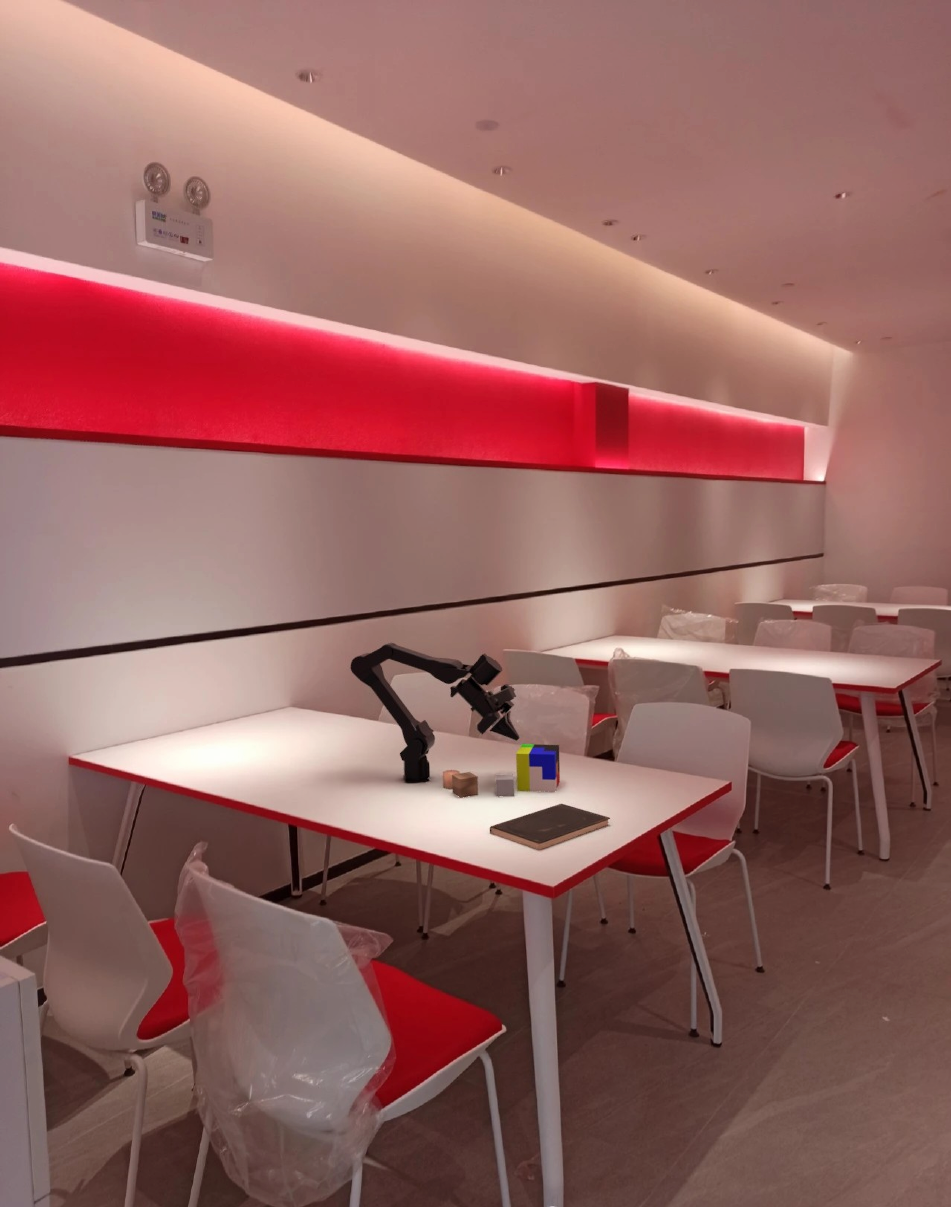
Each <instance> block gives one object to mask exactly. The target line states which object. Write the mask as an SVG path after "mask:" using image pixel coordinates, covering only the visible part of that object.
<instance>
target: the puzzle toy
mask: <svg viewBox="0 0 951 1207" xmlns="http://www.w3.org/2000/svg"><path fill="white" fill-rule="evenodd" d="M515 754H516V755H515V756H516V757H515V758H516V791H517V792H535V791H538V792H537V793H541V792H543V793H556V792H557V789H558V787H559V785H560V784H559V783H560V782H561V780H560V779H561V778H560V772H561V771H560V745H559V744H534V743H533V744H530V743H529V744H528V743H526V744H525V743H522V744H521V745H520V746H519V748H518V750H517V751H516V753H515ZM539 791H541V792H539ZM544 791H545V792H544ZM548 791H549V792H548ZM555 791H556V792H555Z"/></svg>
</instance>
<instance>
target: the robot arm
mask: <svg viewBox="0 0 951 1207" xmlns="http://www.w3.org/2000/svg"><path fill="white" fill-rule="evenodd" d="M388 660H391V661H394V662H397V663H400V664H403V665H405V666H409V667H412V668H414V669H418V670H421V671H424V672H425V673H426V672H427V673H428V674H430V675H431V676H432V677H433V678H435V679H437V680H438V681H440V682H442V683H444V684H447V685H451V684H454V683H456V682H457V681H459V680H460V681H459V682H458V683H457V684H456V685H452V686H450V687H449V689H450V698H454V697H455V696H456V695H458V694H459V696H460V697H461V698H462V699H463V700H464V701H465V702H466V703H467V704H468V705H469V706H470V711H471V712H474V711H475V712H476V713H477V714H478V715H479V716H480V717H481V718H482V719H481V720H480V721H479V722H478V723H477V725H476V727H477V728H476V729H477V730H476V731H478V732H479V733H480V734H481V735H484V734H485V733H486V732H487V731H488V730H489V729H490V730H489V732H493V733H496V734H498V735H501V736H503V737H506V738H509V739H512V740H514V741H518V740H519V739H520V735H519V734H518V732H517V729H516V728H515V727H514V726H515V725H513V722H512V721H511V712H512V711H511V709H512V708H513V707H514V706H515V704H514V702H513V701H512V700H514V699H515V698H517V695H516V693H515V691H516V689H515V688H514V687H513V686H512V685H509V684H507V683H505V684H503V685H501V686H500V690H499V691H498V692H495V693H493V692H492V691H491V690H488V691H486V690H485V688H484V687H483V686H484V685H485V686H489V685H490V684H492V682H493V681H494V680H495V679H496V678H497V677H498V676H499V675H500V674H501V673H502V672H503V667H502V665H501V664H500V663H499V661H497V660H496V659H494V658H493V657H491V656H489V655H487V654H486V653H485V652H484V653H482V654H481V655H480V656H479V657H478V659H477V661H475V662H474V663H473V665H471V664H465V663H463V662H462V661H461V660H459V659H457V658H456V659H454V658H448V657H436V656H431V655H429V654H425V653H422V652H420V651H416V650H412V649H410V648H407V647H404V646H401V645H397V644H396V643H394V642H388V643H386V644H385V643H384V644H383V645H382V646H381V647H379V648H378V649H376V650H374V651H372V652H366V653H363V654H360V655H357V656H355V657H354V658H353V659H351V663H350V666H349V667H350V668H349V669H350V671H351V672H352V674H353V675H354V676H355V677H356V678H357V679H358V680H359V681H360V682H362V683H363V684H365V685H366V686H368V687H369V688H370V689H371V690H372V691H373V692H374V694H375V696H376V697H377V698H378V699H379V701H380V702H381V703H382V705H383V706H384V707H385V709H386V710H387V712H388V713H389V714H390V716H391V717H392V718H393V720H394V721H395V722H396V723H397V725H398V727H399V728H400V730H401V732H402V734H401V735H402V737H403V740H404V742H405V744H406V747H405V748H403V749H402V750H401V751H400V752H399V756H400V758H401V761H403V775H402V777H403V780H404V783H419V782H429V781H430V777H431V770H430V768H431V767H430V761H429V760H428V757H427V755H429V752H430V749H431V748H432V747H434V745H435V741H436V737H435V734H434V732H435V731H434V730H433V729H432V728H431V727H430V726H429V724H428V722H427V721H426V720H425V719H423V720H422V721H419V720H417V718H415V717H414V716H413V714H412V713H411V711H410V710H409V709H408V707H407V706H406V705H405V704H404V703H405V702H403V700H402V699H401V698H400V696H398V693H396V691H395V689H394V688H393V687H392V686H391V685H390V683H389V682H388V680H387V679H386V678H385V675H384V669H383V666H382V665H381V664H382V663H384V662H386V661H388ZM469 675H470V676H469ZM467 676H469V677H467ZM465 677H467V679H464V678H465Z"/></svg>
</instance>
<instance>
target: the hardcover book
mask: <svg viewBox="0 0 951 1207" xmlns="http://www.w3.org/2000/svg"><path fill="white" fill-rule="evenodd" d="M609 820H611V817H609V816H605V815H603V814H599V813H595V812H592V811H589V810H584V809H581V808H579V807H575V806H572V805H567V804H564V803H559V804H556V805H553V806H549V807H546V808H543V809H540V810H537V811H533V812H531V813H528V814H524V815H520V816H518V817H516V818H512V819H509V820H506V821H504V822H503V821H502V822H500V823H497V824H493V825H490V827H489V833H490V834H493V835H496V836H499V837H501V838H505V839H507V840H510V841H513V842H516V843H519V844H521V845H524V846H527V847H529V848H532V849H533V848H534V849H536V850H542V849H544V848H545V849H546V848H547V847H548V848H549V847H551V846H554V845H556V844H558V843H559V844H560V843H562V842H565V841H567V840H570V839H573V838H575V837H578V835H579V836H581V835H584V834H587V833H589V832H588V831H590V832H592V831H595V830H597V829H596V828H598V829H601V828H604V827H606V826H608V825H609V823H610V822H609ZM605 825H606V826H605ZM603 826H604V827H603ZM594 829H595V830H594ZM586 832H587V833H586ZM580 834H581V835H580ZM564 840H565V841H564Z"/></svg>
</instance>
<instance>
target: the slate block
mask: <svg viewBox="0 0 951 1207" xmlns="http://www.w3.org/2000/svg"><path fill="white" fill-rule="evenodd" d="M514 782H515V781H514V774H495V794H496V796H503V797H515V785H514Z"/></svg>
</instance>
